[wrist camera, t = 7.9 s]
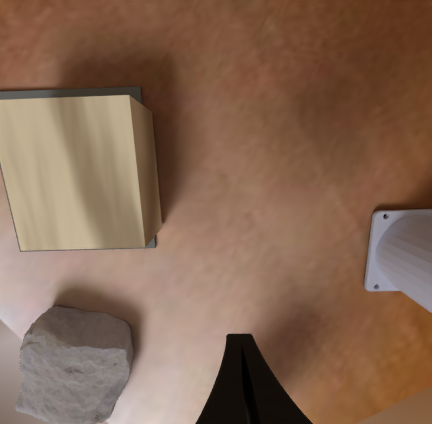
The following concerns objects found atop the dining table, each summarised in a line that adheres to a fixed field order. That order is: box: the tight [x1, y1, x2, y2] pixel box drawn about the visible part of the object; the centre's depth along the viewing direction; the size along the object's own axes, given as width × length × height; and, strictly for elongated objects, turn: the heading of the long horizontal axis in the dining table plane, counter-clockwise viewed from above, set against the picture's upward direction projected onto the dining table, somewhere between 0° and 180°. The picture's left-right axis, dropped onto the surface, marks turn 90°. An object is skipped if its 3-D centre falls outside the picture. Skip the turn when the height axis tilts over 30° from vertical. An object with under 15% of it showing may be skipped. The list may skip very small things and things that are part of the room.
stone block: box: [16, 306, 134, 424], centre depth 23 cm, size 12×5×10 cm
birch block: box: [0, 95, 162, 251], centre depth 18 cm, size 5×10×9 cm
